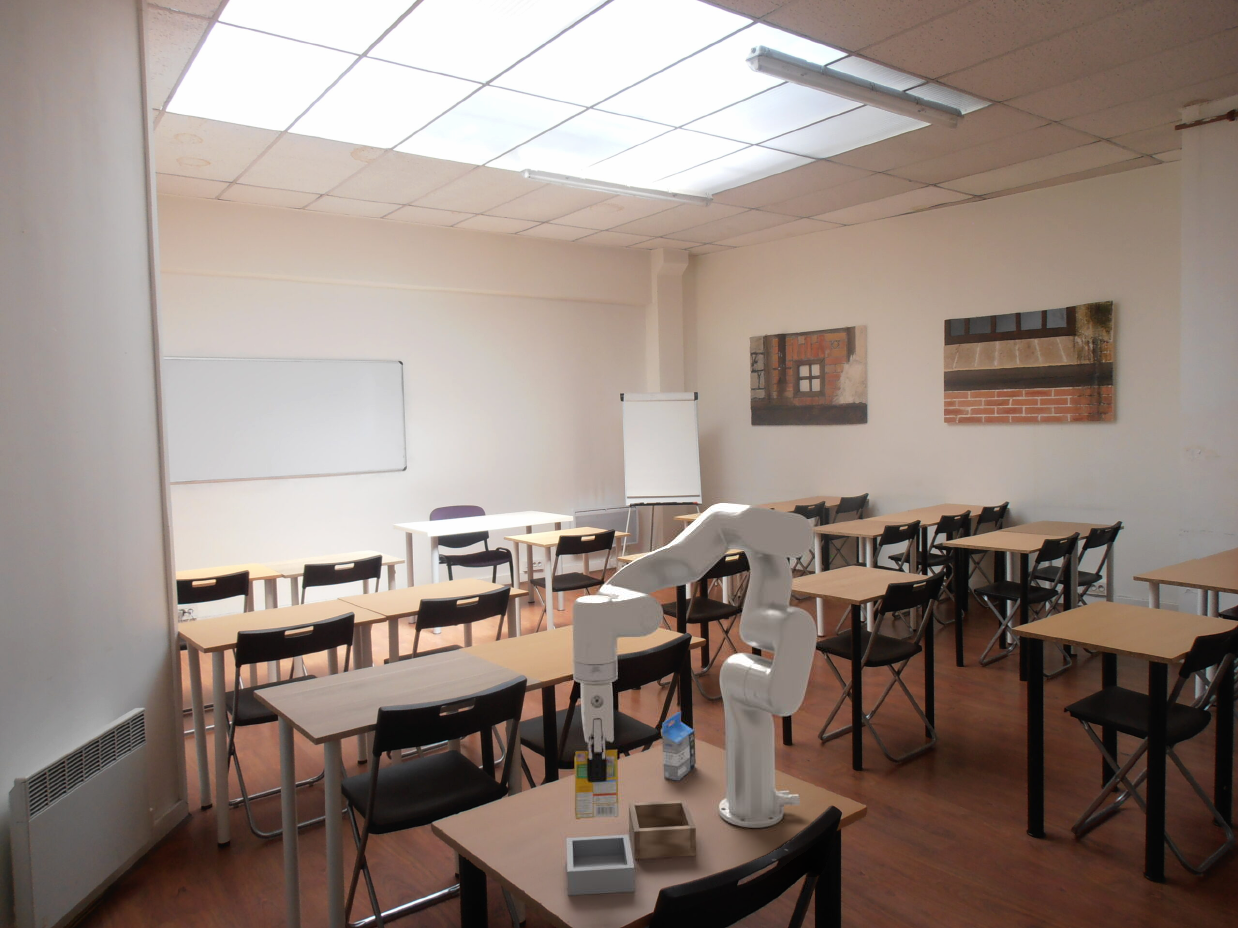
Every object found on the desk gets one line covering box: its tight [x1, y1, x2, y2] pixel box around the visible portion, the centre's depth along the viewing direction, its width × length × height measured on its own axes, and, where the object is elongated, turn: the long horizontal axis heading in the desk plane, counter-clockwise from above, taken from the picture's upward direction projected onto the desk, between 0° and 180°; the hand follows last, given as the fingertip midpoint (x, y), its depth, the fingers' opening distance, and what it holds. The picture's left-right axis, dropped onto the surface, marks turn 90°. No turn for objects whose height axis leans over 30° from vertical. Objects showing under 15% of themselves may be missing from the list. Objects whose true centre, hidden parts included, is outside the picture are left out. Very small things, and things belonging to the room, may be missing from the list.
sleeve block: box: [628, 799, 697, 860], centre depth 148 cm, size 11×11×5 cm
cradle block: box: [566, 834, 636, 896], centre depth 137 cm, size 11×11×4 cm
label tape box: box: [661, 710, 697, 782], centre depth 178 cm, size 9×4×12 cm, turn 149°
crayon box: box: [574, 749, 619, 820], centre depth 136 cm, size 7×3×12 cm, turn 95°
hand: (596, 775), depth 136 cm, fingers closed on crayon box, 3 cm apart
